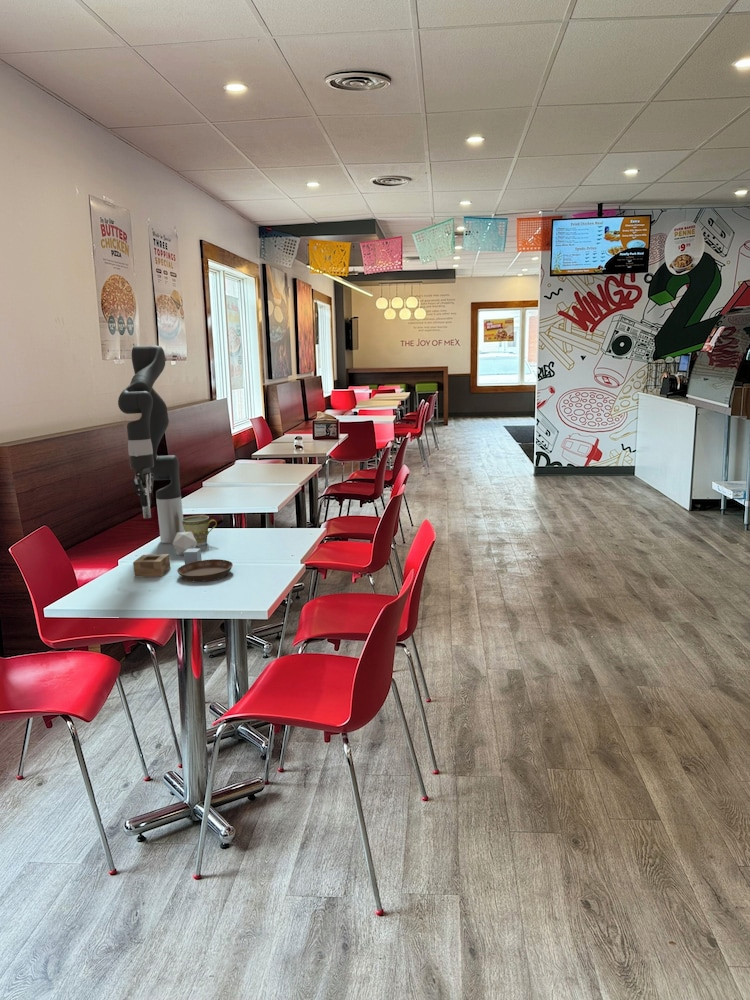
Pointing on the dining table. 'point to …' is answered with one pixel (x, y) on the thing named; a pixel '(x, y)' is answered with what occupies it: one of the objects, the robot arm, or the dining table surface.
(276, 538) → the dining table surface
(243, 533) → the dining table surface
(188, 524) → the ceramic cup
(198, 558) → the slate block
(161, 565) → the bore block
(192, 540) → the die
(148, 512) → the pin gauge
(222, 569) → the plant saucer
